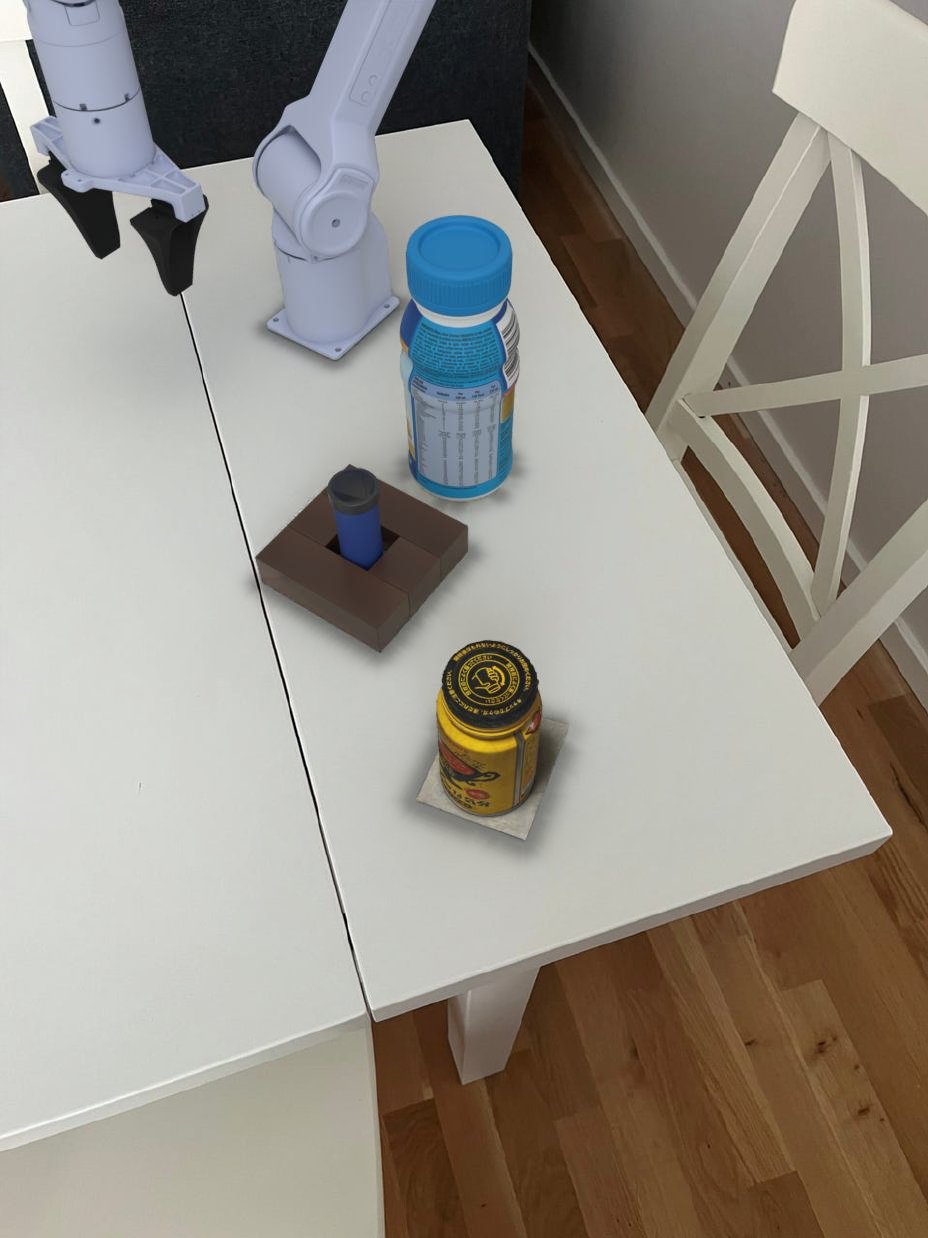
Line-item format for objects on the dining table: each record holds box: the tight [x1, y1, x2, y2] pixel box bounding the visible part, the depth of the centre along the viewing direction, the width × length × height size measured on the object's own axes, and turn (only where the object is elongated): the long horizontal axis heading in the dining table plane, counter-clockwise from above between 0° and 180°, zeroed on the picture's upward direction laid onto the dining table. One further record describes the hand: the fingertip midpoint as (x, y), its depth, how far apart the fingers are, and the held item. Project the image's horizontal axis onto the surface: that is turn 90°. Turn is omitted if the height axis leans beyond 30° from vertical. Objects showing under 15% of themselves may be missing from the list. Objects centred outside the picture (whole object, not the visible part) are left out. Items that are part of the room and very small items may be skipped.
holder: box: [254, 463, 469, 653], centre depth 71 cm, size 11×11×3 cm
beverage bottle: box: [399, 214, 521, 502], centre depth 70 cm, size 8×8×20 cm
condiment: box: [415, 639, 570, 841], centre depth 58 cm, size 7×8×12 cm
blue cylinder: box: [327, 467, 384, 571], centre depth 69 cm, size 3×3×9 cm
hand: (143, 270), depth 75 cm, fingers open, 7 cm apart
